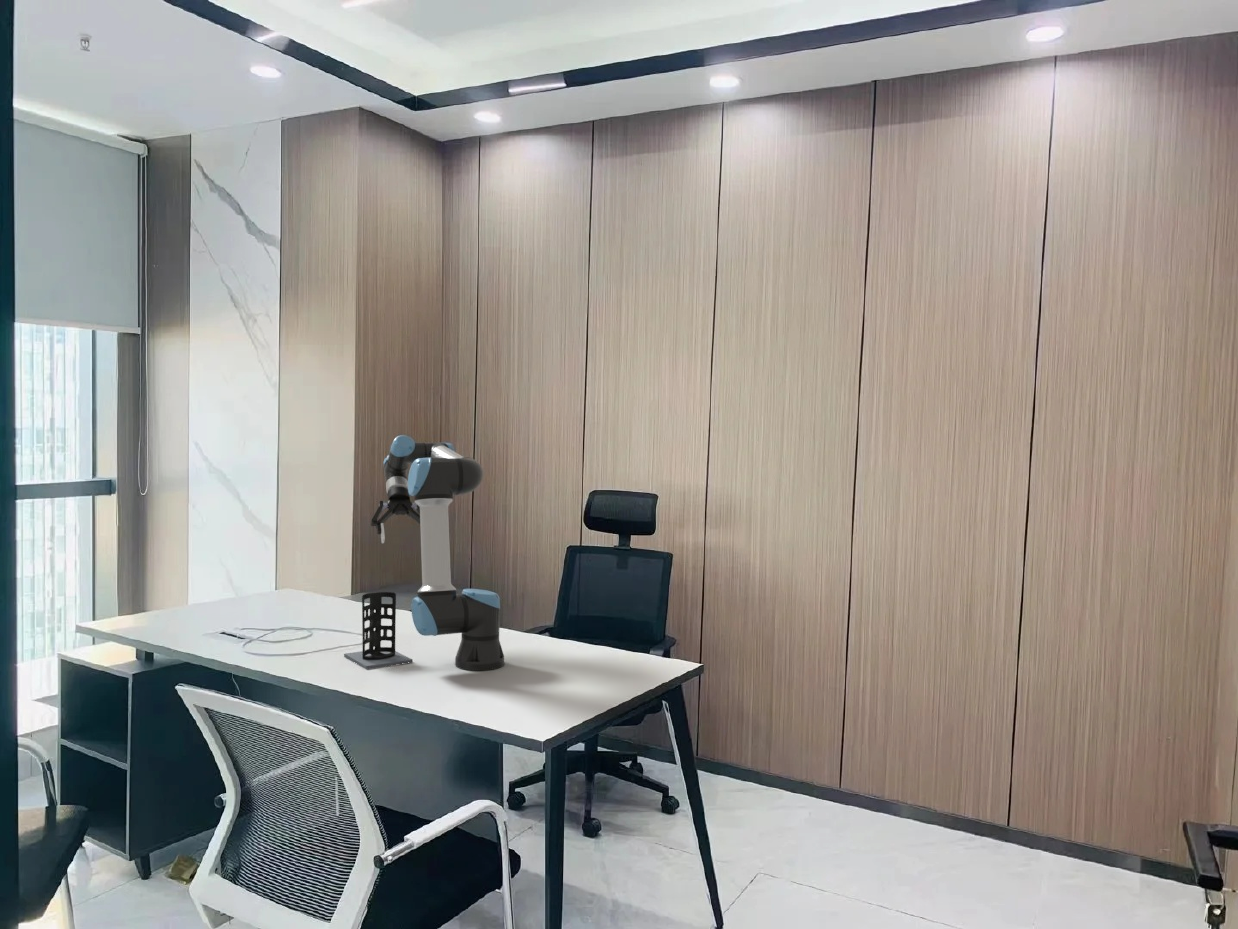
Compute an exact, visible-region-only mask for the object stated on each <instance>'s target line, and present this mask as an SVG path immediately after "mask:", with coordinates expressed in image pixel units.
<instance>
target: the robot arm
mask: <svg viewBox="0 0 1238 929" xmlns="http://www.w3.org/2000/svg"><path fill="white" fill-rule="evenodd" d="M389 449H390V450H389V453H388V455H387V456H386V457H385V458H384V460H383V467H382V469H383V471H384V472H383V473H384V480H385V488H386V489H385V490H386V495H387V498H386V499H387V502H384V501H383V500H380V501H379V504H378V507H377V509H376V511H375V513H374V514H373V516H372V519H371V521H370V527H375V528H376V532H377V534H378V535H380V539H381V541H380V542H381V544H385V540H386V537H385V536H386V535H385V534H386V533H385V528H384V527H385V526H384V523H385V522H386V521H387V520H389V519H390V518H391V517H392V516H394V515H395V516H398V515H402V516H404V515H407V517H411V519H413V520H414V521H416V522H417V523H418V524H420V528H419V529H420V554H421V555H420V556H421V557H420V558H421V583H422V585H421V587H419V589H418V590H417V596H416V597H414V598H413V599H412V600H411V606H410V607H411V616H412V622H413V624H414V628H415V629H416V631H417V633H418V634H419V635H421V636H426V637H427V636H429V637H430V636H433V637H435V636H442V635H453V634H461V640H460V643H459V647H458V649H457V652H456V655H455V658H454V659H455V660H454V661H455V662H454V665H455V667H456V668H459V669H463V670H468V671H488V670H489V671H490V670H495V669H499V668H501V667H503V666H504V665H505V655H504V651H503V647H502V645H501V641H500V621H501V620H500V618H501V616H500V615H501V602H500V599H501V598H500V596H499V594H498V593H496V592H494V591H491V590H486V589H479V588H478V589H477V588H464V589H462V591H461V594H457V588H456V587H455V586H454V585H453V584H452V579H451V578H452V577H451V576H452V575H451V571H452V570H451V550H450V549H451V548H450V525H449V524H450V523H449V521H450V519H449V506H450V505H451V503H453V501H454V496H462V495H463V496H464V495H466V494H470V493H473V492H474V491H475V490H477V489H478V487H480V485H481V484H482V482H483V478H484V470H483V467H482V465H481V463H480V462H478V461H477V460H476V459H474V458H473V457H469V456H463V455H461V454H459V453H458V452H456V451H455V448H454V445H453V443H450V442H424V441H423V442H422V441H421V442H420V441H419V442H418V441H415V440H414V439H413V438H412V437H411V436H407V435H405V434H401V435H398V436H396V437H395V438H394V439H393V441H392V443H391V445H390V448H389ZM410 464H411V465H410ZM409 466H410V468H409ZM408 469H409V471H408ZM407 472H408V474H407ZM411 497H413V498H414V502H412V501H411ZM386 508H387V509H388V510H387V511H386V512H385V513H384V514H383V515H382V516H381V514H382V512H383V510H385V509H386ZM380 516H381V517H380ZM379 517H380V518H379Z"/></svg>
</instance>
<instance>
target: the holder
mask: <svg viewBox="0 0 1238 929" xmlns="http://www.w3.org/2000/svg"><path fill="white" fill-rule="evenodd" d="M383 598H391V599H392V603H382V599H383ZM366 599H369V604H367V605H365V600H366ZM361 604H362V605H361V608H362V609H361V612H362V614H361V617H362V618H361V619H362V621H361V622H362V627H361V628H362V634H361V635H362V651H363V654H362V656H363V659H364V660H369V659H380V658H389V657H392V656H394V655H395V651H396V619H397V618H396V616H397V615H396V614H397V613H396V612H397V609H396V608H397V607H396V606H397V594H396V593H395V592H392V591H378V592H377V591H376V592H368V593H364V594H362V596H361ZM382 609H383V614H382ZM388 609H391V614H389V613H388V611H389V610H388ZM383 619H384V620H391V625H382V620H383ZM366 622H369V624H368V627H366V626H365V624H366ZM382 631H383V632H382ZM388 631H390V632H391V636H389V635H388ZM382 641H388V642H389V641H390V643H391V646H387V647H385V646H381V645H382V643H381V642H382ZM367 643H368V648H367V649H366V644H367ZM381 652H391V653H389V654H383V653H381ZM367 654H371V655H373V656H365V655H367Z"/></svg>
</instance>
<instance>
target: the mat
mask: <svg viewBox="0 0 1238 929" xmlns="http://www.w3.org/2000/svg"><path fill="white" fill-rule="evenodd" d="M381 653H383V654H389V653H391V652H381ZM362 654H363V650H362V651H355V652H354V651H353V652H348V653H347V652H346V653H343V658H345V657H346V659H347V660H348V661H351V662H352V663H354V662H355V663H354V664H356V663H357V664H356V665H358V666H359V667H361V668H363V669H364V670H371V669H376V668H378V669H379V668H384V667H385V666H386V667H392V666H391V665H393V666H397V665H396V664H400V665H403V664H402V663H407V664H409V663H408V662H414V661H413V659H412V658H410V657H409V656H406V655H405V654H402V653H400V652H398V651H396V650H395V655H394V656H392V657H389V658H380V659H369V660H364V659H363V656H362ZM365 656H373V655H371V654H367V655H365ZM386 667H385V668H386Z"/></svg>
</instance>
